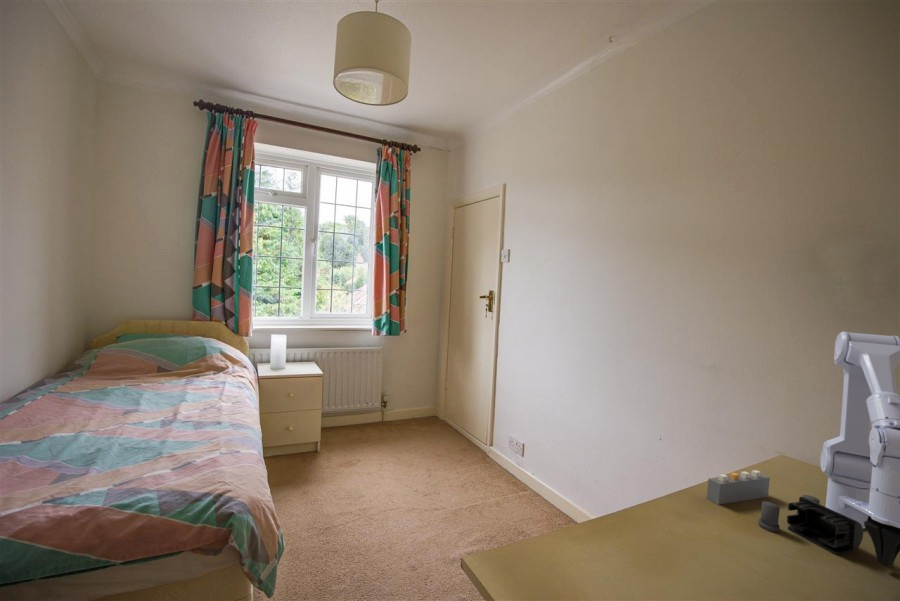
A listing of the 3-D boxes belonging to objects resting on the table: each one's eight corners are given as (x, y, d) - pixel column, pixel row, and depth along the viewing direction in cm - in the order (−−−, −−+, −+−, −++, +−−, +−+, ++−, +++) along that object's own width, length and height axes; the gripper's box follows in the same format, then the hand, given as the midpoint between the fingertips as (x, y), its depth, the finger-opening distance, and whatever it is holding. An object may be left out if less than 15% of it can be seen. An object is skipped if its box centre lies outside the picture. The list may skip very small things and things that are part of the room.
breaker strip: (755, 491, 106) (757, 467, 106) (768, 496, 104) (770, 472, 103) (706, 498, 100) (708, 473, 100) (718, 504, 97) (720, 479, 97)
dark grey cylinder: (804, 514, 96) (806, 493, 96) (823, 522, 92) (825, 501, 92) (795, 516, 95) (797, 495, 95) (813, 524, 91) (815, 503, 91)
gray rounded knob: (765, 521, 91) (767, 499, 91) (783, 531, 88) (785, 508, 88) (754, 523, 90) (756, 501, 90) (772, 533, 86) (774, 510, 86)
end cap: (862, 553, 82) (865, 520, 82) (838, 557, 80) (842, 523, 80) (806, 524, 91) (809, 495, 91) (783, 527, 89) (786, 497, 89)
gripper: (831, 476, 81) (825, 543, 82) (938, 516, 68) (930, 595, 68) (852, 473, 84) (846, 538, 84) (959, 511, 70) (951, 587, 70)
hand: (885, 563), depth 76 cm, fingers closed
